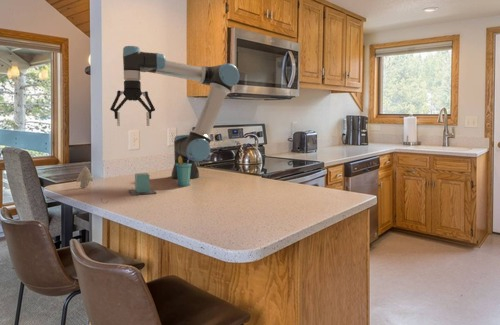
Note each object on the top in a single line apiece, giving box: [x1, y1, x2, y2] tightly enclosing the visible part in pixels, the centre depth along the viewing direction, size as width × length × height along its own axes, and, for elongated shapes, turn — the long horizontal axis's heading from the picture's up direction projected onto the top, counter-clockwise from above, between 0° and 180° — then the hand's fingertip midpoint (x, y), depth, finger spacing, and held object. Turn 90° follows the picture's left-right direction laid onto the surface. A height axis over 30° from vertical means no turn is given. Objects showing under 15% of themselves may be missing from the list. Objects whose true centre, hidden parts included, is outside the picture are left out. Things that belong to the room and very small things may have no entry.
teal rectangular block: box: [134, 172, 151, 193], centre depth 172 cm, size 5×5×8 cm
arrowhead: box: [76, 166, 94, 189], centre depth 182 cm, size 8×3×10 cm, turn 139°
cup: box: [176, 156, 194, 187], centre depth 189 cm, size 14×8×15 cm, turn 46°
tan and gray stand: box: [128, 188, 157, 196], centre depth 172 cm, size 10×10×7 cm
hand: (133, 126), depth 186 cm, fingers open, 13 cm apart
